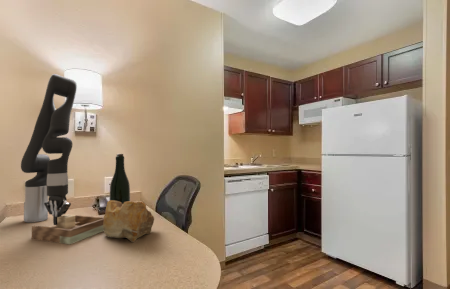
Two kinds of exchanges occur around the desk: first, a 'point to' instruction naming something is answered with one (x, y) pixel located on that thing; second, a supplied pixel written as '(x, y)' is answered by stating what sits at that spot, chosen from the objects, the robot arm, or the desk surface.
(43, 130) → the robot arm
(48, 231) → the tray
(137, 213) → the rough brown rock
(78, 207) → the desk surface
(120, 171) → the dark green wine bottle
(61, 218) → the birch block
